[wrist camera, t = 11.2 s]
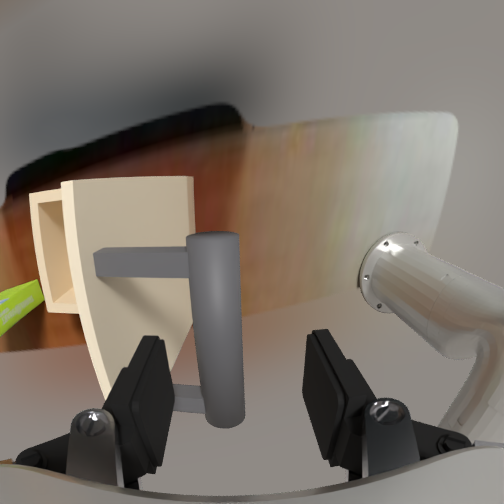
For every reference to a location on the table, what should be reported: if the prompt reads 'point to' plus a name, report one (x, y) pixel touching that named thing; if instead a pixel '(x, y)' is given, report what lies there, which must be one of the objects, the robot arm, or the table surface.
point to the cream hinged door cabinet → (64, 247)
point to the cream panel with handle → (156, 286)
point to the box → (18, 303)
